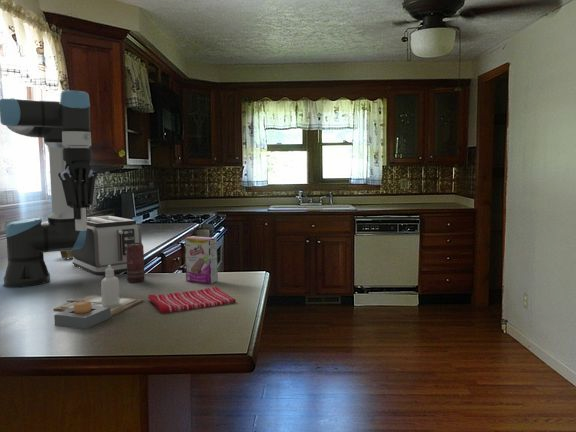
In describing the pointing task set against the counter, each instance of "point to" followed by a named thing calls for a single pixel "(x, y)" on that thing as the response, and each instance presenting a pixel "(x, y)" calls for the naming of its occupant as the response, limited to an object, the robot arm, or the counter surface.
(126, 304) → the brown picture frame
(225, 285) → the counter surface
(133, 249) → the can
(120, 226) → the toaster
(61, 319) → the button housing
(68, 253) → the ceramic cup
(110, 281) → the eye dropper bottle
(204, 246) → the candy bar box
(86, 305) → the button
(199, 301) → the dish towel
